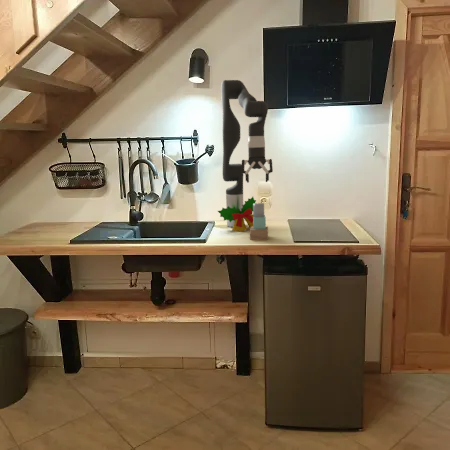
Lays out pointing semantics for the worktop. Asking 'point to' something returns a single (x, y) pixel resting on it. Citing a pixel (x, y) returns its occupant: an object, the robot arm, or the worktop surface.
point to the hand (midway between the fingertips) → (257, 182)
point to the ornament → (239, 215)
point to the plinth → (258, 234)
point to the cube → (259, 222)
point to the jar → (258, 209)
